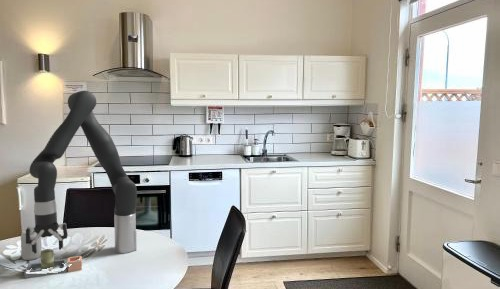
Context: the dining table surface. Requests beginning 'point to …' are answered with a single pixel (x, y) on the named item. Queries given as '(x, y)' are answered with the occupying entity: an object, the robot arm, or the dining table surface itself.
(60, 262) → the trough
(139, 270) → the dining table surface
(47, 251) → the cell
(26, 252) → the can
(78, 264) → the cup
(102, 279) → the dining table surface
